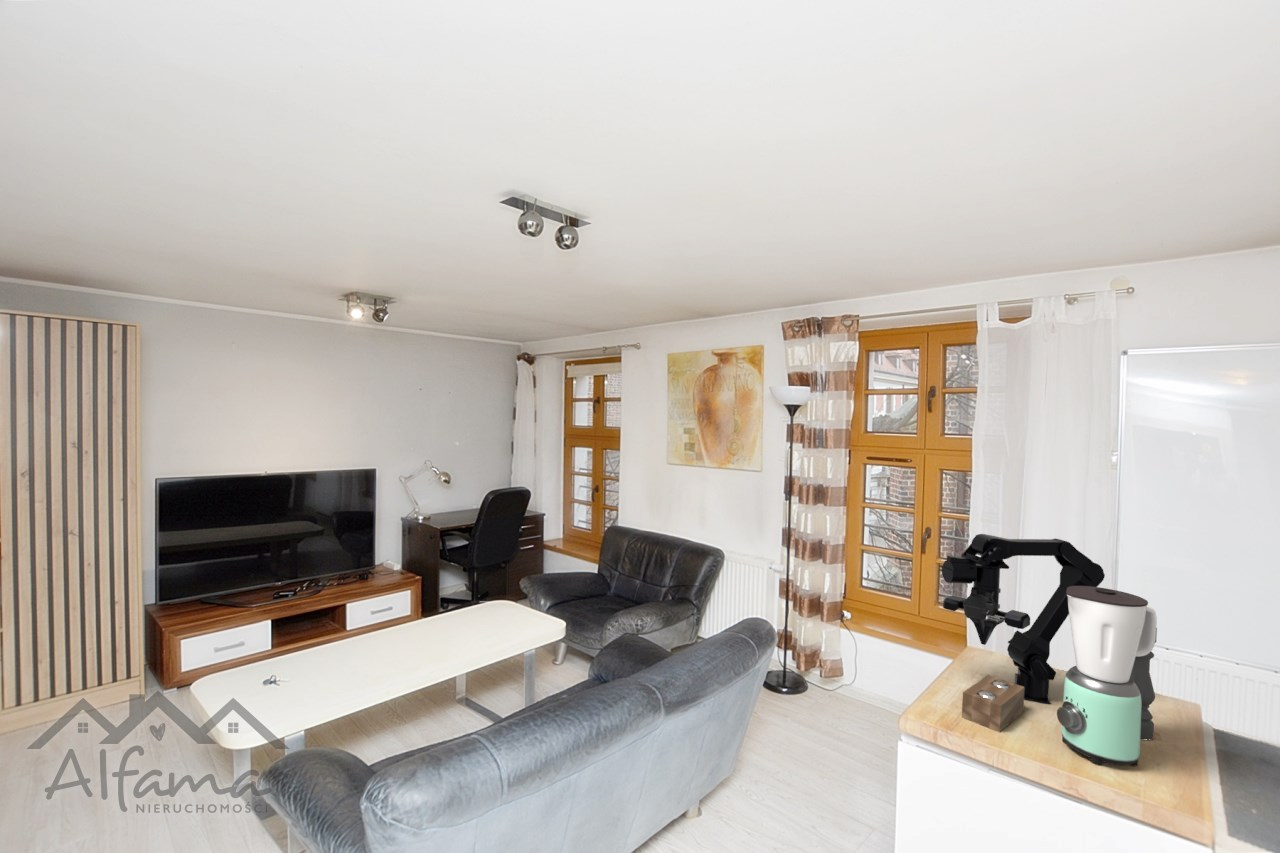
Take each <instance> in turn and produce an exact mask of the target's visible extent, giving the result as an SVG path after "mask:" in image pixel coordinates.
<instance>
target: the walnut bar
mask: <svg viewBox="0 0 1280 853" xmlns="http://www.w3.org/2000/svg"><path fill="white" fill-rule="evenodd" d="M995 681H998V682H1003V683H1005V684H1007V685H1008V686H1009V688H1008V689H1004V688H1001V687H998V686H995V685H993V682H995ZM1024 688H1025V687H1023V686H1020V685H1017V684H1015V682H1014V683H1013V682H1011V681H1009V680H1005V679H1002V678H999V677H996V676H993V675H990V674H987V675H986V676H984V677H983V678H981V679H980V680H978V681H977V682H975V683H974V684H973V685H971V686H970V687H968V688H966V689H965V690H964V691H963V692H962V700H961V701H962V704H961V706H962V708H961V718H963V719H965V720H968V721H970V722H973V723H975V724H978V725H980V726H983V727H986V728H988V729H990V730H993V731H994V732H997V733H1001V732H1002V731H1003V730H1004V729H1005V728H1006V727H1007V726H1008V725H1010V724H1011V723H1012V722H1013V721H1015V719H1016V718H1018V717H1019V716H1020V715H1021V714H1022V713H1023V712H1024V705H1025V699H1024ZM981 691H985V692H989V693H992V694H994V695H995V699H994V700H991V699H988V698H985V697H983V696H980V695H979V692H981Z"/></svg>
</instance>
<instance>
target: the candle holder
mask: <svg viewBox="0 0 1280 853" xmlns="http://www.w3.org/2000/svg"><path fill="white" fill-rule="evenodd" d="M1157 632H1158V628H1157V627H1156V639H1155V644H1156V643H1157V636H1158V634H1157ZM1154 657H1155V654H1154V653H1153V652H1152V651H1151V652H1150V653H1148V654H1147V655H1145V656H1140V657H1135V661H1134V665H1133V668H1132V672H1131V676H1130V679H1131V680H1132V681H1133V682H1134V683H1135V684H1136V685H1137V687H1138V689H1139V691H1140V693H1141V701H1142V707H1141V735H1140V740H1141V739H1147V740H1146V741H1150V740H1149V739H1152V738H1153V739H1154V732H1155V731H1154V730H1155V724H1154V721H1153V720H1152V719H1154V716H1153V715H1152V713H1151V712H1150V710H1149V709H1150V706H1151V704H1153V702H1154V701H1155V699H1156V694H1155V689H1154V686H1153V682H1152V677H1151V674H1150V670H1151V669H1150V668H1151V665H1150V664H1151V659H1153V658H1154ZM1153 739H1152V740H1153Z"/></svg>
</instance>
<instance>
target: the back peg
mask: <svg viewBox="0 0 1280 853" xmlns="http://www.w3.org/2000/svg"><path fill="white" fill-rule="evenodd" d="M993 685H995V686H998V687H1001V688H1004V689H1008V688H1009V686H1008V685H1007V684H1005V683H1003V682H998V681H995V682H993Z"/></svg>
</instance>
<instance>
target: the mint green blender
mask: <svg viewBox="0 0 1280 853" xmlns="http://www.w3.org/2000/svg"><path fill="white" fill-rule="evenodd" d="M1066 594H1067V596H1068V608H1069V615H1068V616H1069V622H1070V630H1071V637H1072V644H1073V650H1074V651H1073V652H1074V659H1075V664H1076V665H1075V666H1072V667H1070V668H1069V669H1068V670H1067V672H1066V673H1065V676H1064V683H1063V698H1062V706H1060V707H1058V708H1057V710H1056V715H1057V716H1056V717H1057V720H1058V722H1059V723H1060V724H1059V725H1061V737H1062V742H1063V743H1064V744H1067V745H1068V746H1069V747H1070V748H1072V749H1073V750H1074V751H1076V752H1078V753H1080V754H1082V755H1084V756H1086V757H1088V758H1090V762H1091V763H1092V764H1093V765H1095V766H1103V764H1104V763H1107V764H1110V765H1111V764H1112V765H1118V766H1132V767H1133V766H1134V767H1138V766H1139V759H1140V757H1141V755H1140V754H1141V739H1140V735H1141V707H1142V701H1141V693H1140V691H1139V689H1138V687H1137V685H1136V684H1135V683H1134V682H1133V681H1132V680H1131V679H1130V676H1131V672H1132V668H1133V665H1134V661H1135V657H1140V656H1145V655H1147V654H1148V653H1150V652H1152V651H1153V650H1154V647H1155V645H1156V643H1155V639H1156V640H1157V637H1156V628H1157V622H1158V621H1157V619H1158V618H1157V614H1156V610H1155V609H1154V608H1153V607H1152V606H1150V605H1148V604H1149V601H1148V600H1147V599H1145V598H1143V597H1141V596H1139V595H1135V594H1132V593H1129V592H1126V591H1125V592H1124V591H1120V590H1116V589H1112V588H1111V589H1110V588H1104V587H1098V586H1097V587H1091V586H1070V587H1068V588H1067V591H1066Z"/></svg>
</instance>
